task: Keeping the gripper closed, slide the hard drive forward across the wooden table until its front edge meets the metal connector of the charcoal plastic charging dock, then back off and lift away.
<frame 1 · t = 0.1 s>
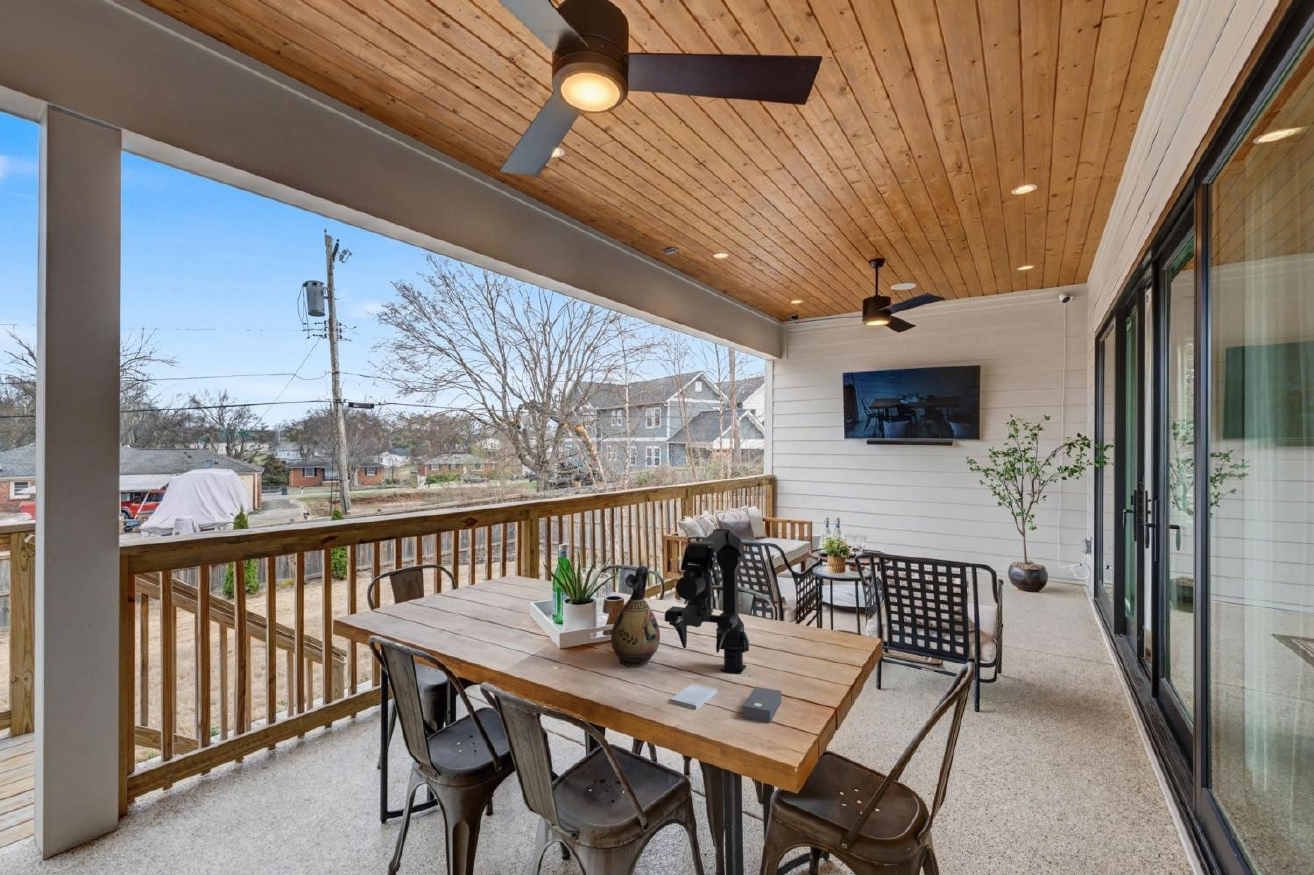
hand: (701, 650, 155), 15 cm above the table, tool pointing down, fingers open, 9 cm apart
charging dock: (762, 709, 153), on the table
ceramic jug: (636, 662, 187), on the table
hard drive: (693, 700, 160), on the table
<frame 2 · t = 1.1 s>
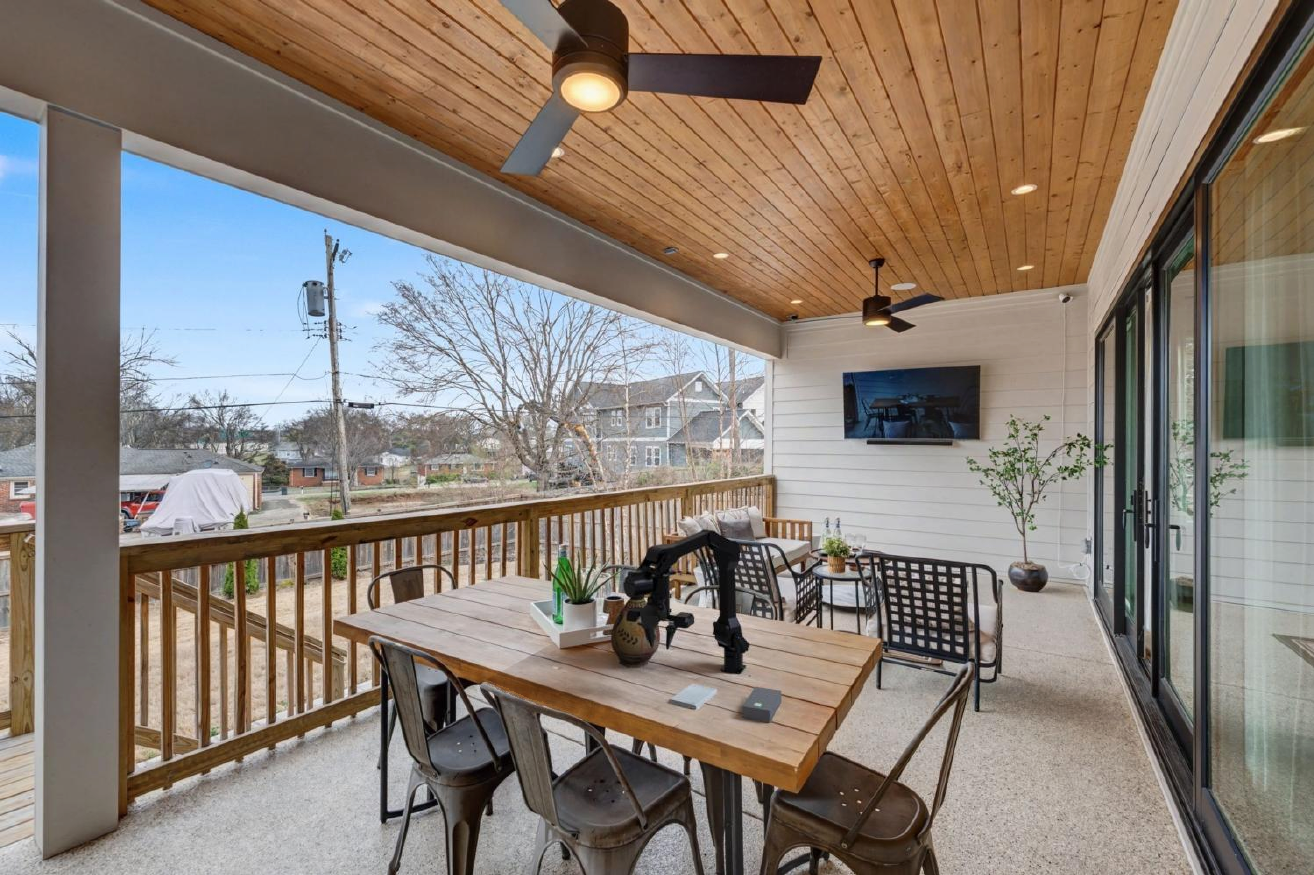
hand: (659, 648, 165), 12 cm above the table, tool pointing down, fingers open, 4 cm apart
nothing on the table moved.
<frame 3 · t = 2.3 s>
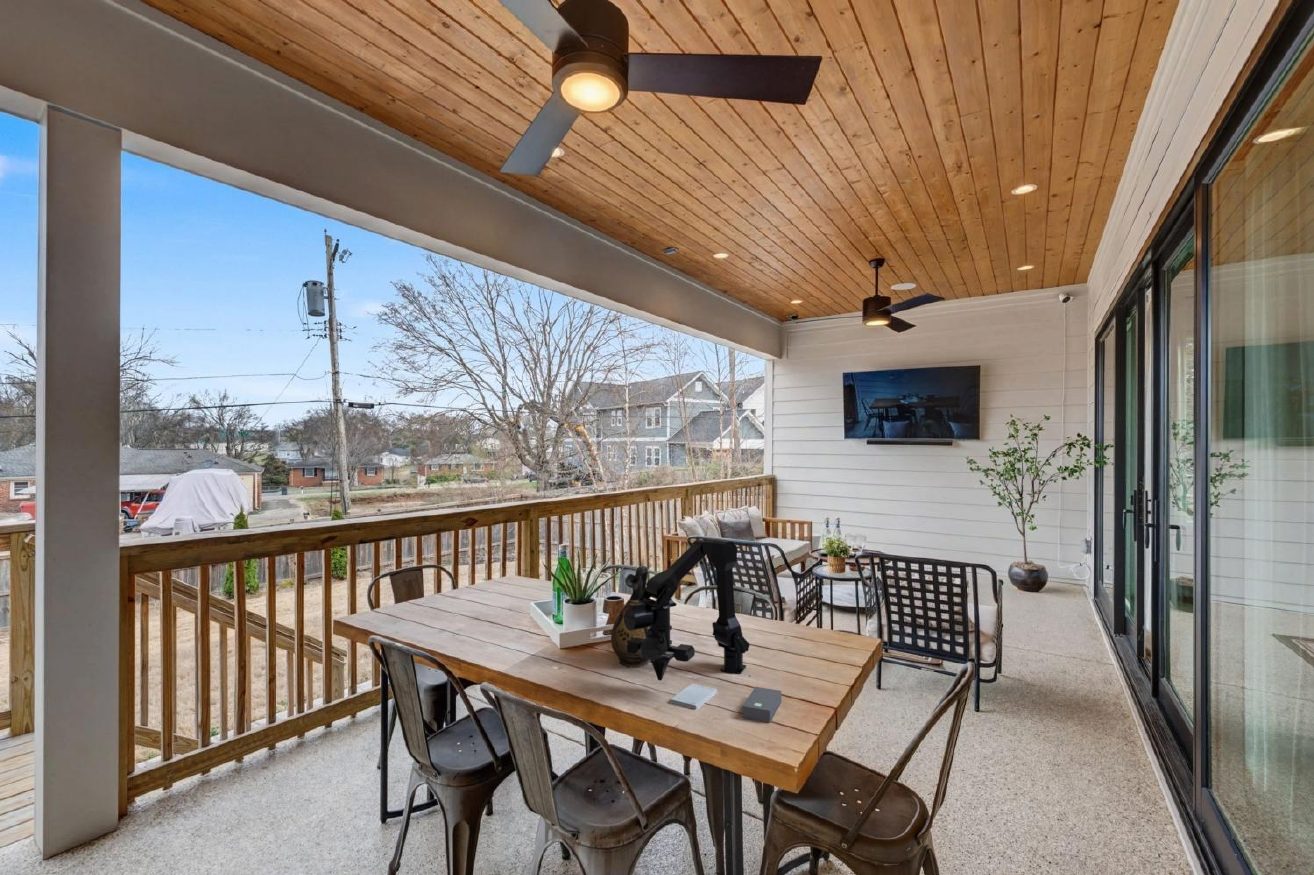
hand: (660, 679, 165), 3 cm above the table, tool pointing down, fingers closed
nothing on the table moved.
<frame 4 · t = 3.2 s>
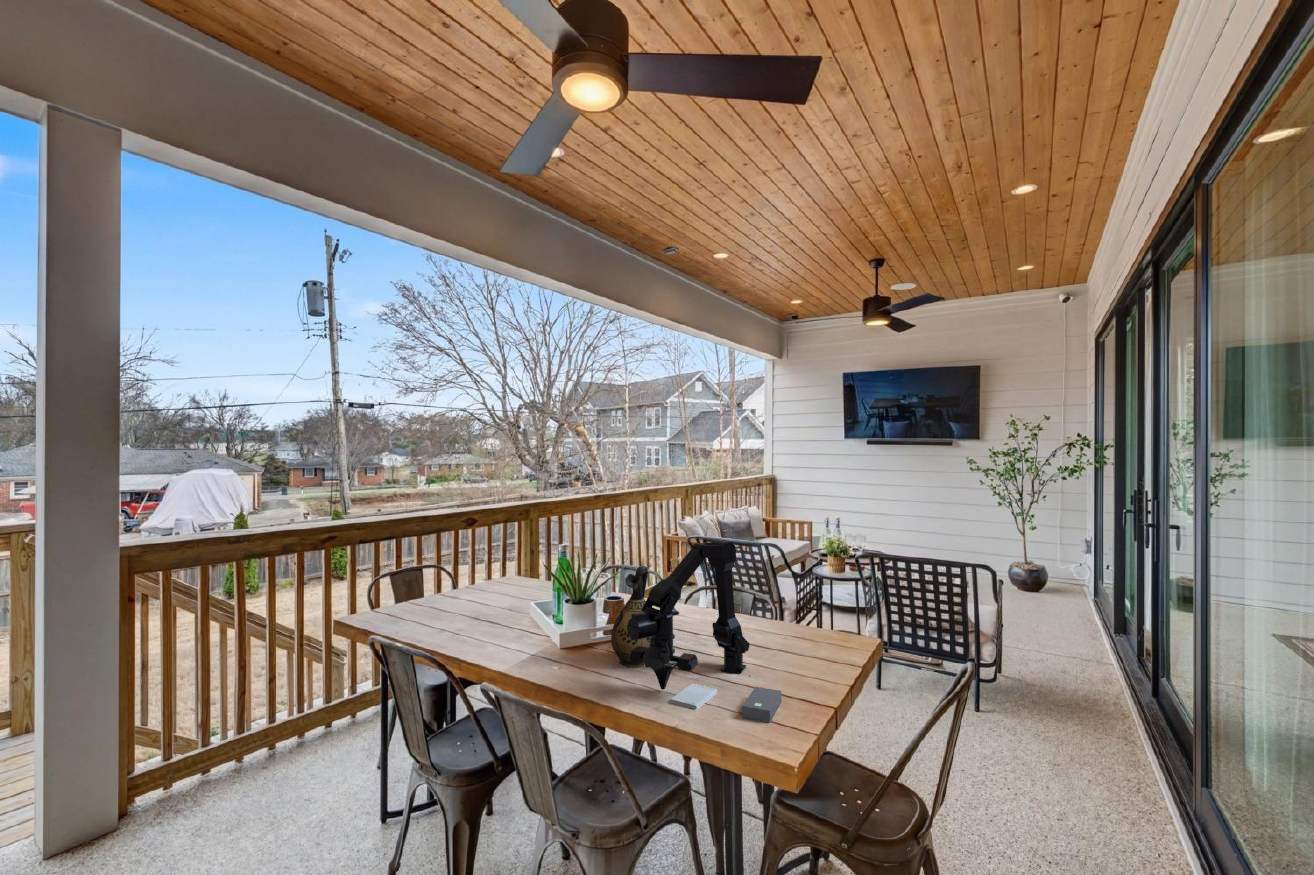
hand: (663, 689, 164), 1 cm above the table, tool pointing down, fingers closed
nothing on the table moved.
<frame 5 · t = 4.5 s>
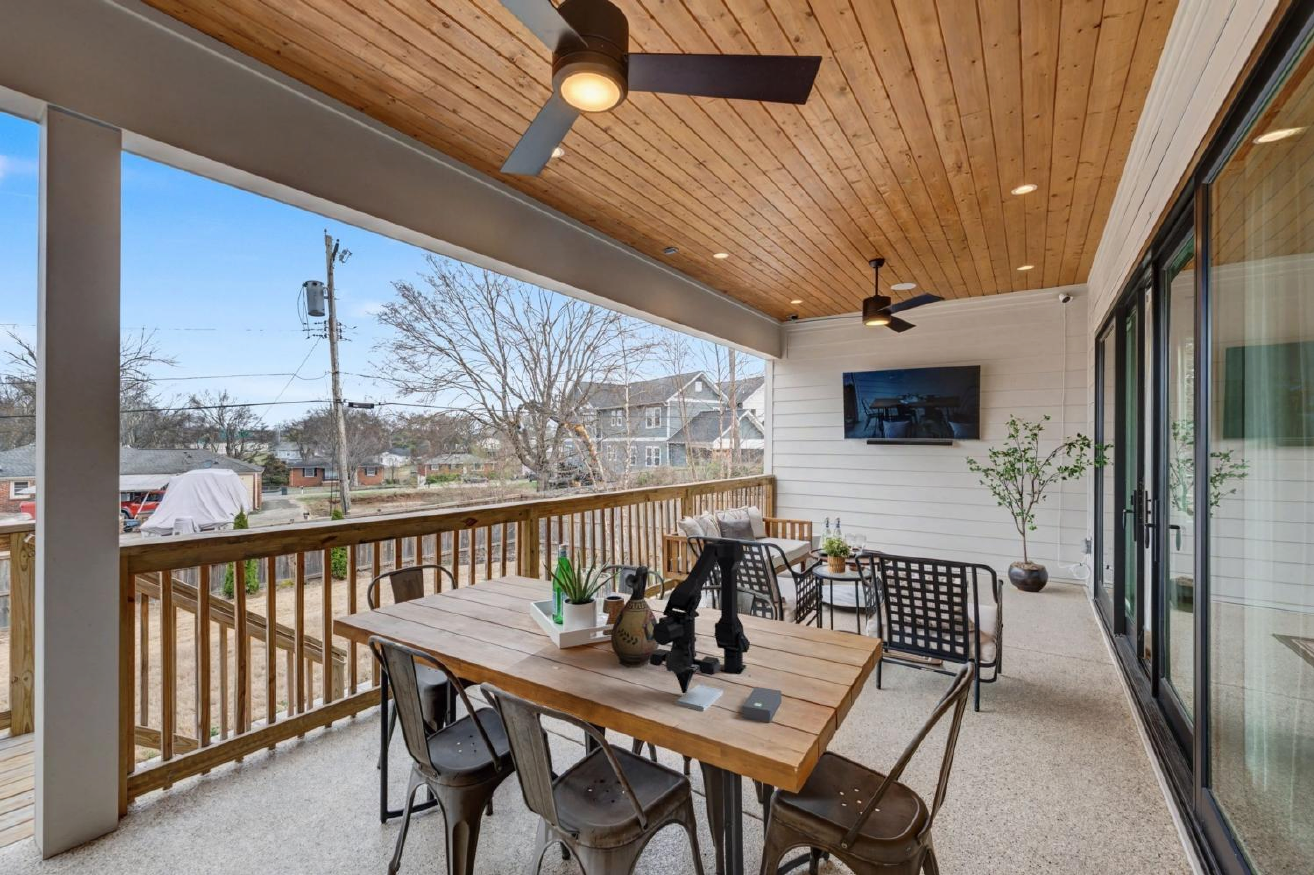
hand: (684, 692, 162), 1 cm above the table, tool pointing down, fingers closed
hard drive: (699, 701, 159), on the table, touching gripper
everything else where it was.
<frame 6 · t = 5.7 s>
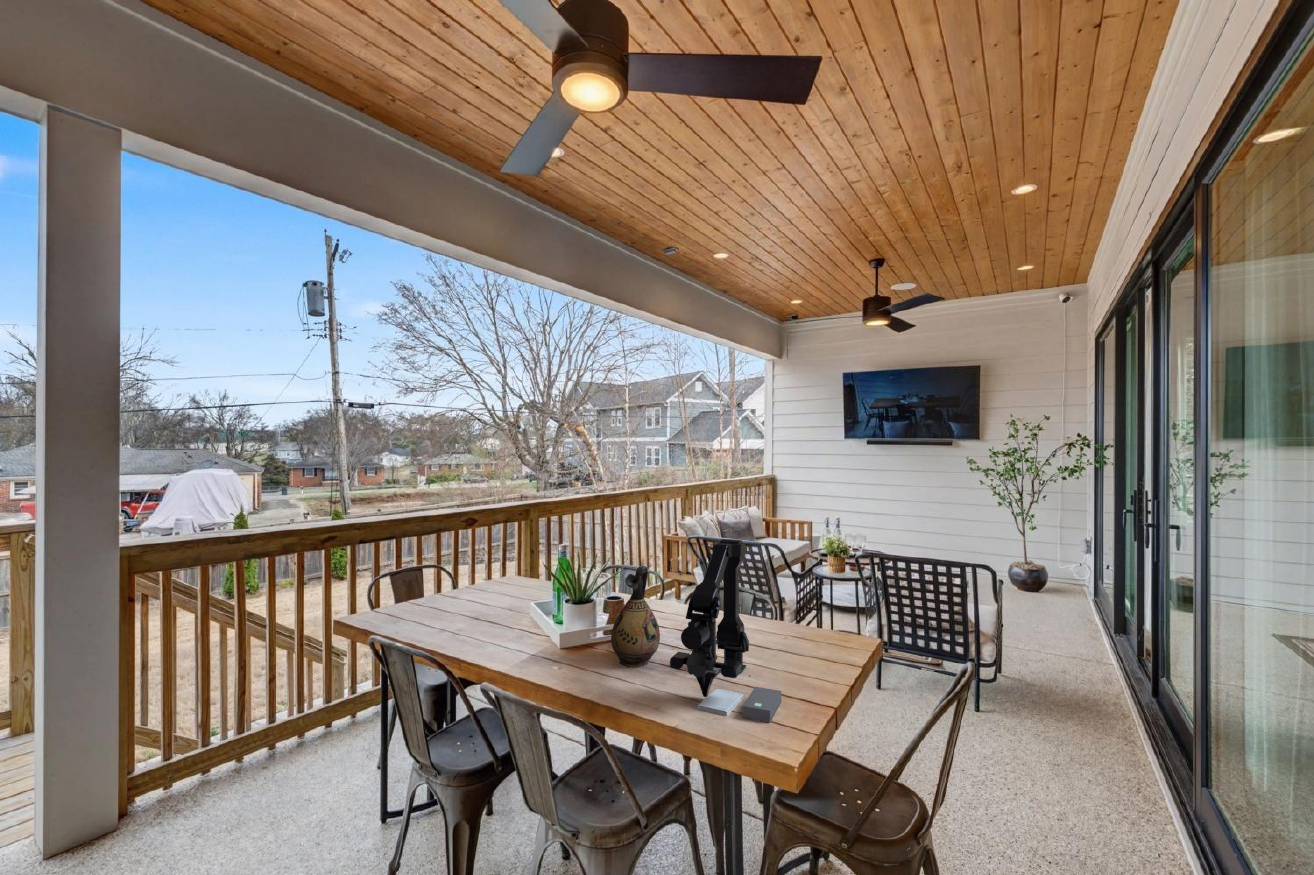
hand: (705, 696, 159), 1 cm above the table, tool pointing down, fingers closed
hard drive: (720, 705, 157), on the table
everything else where it was.
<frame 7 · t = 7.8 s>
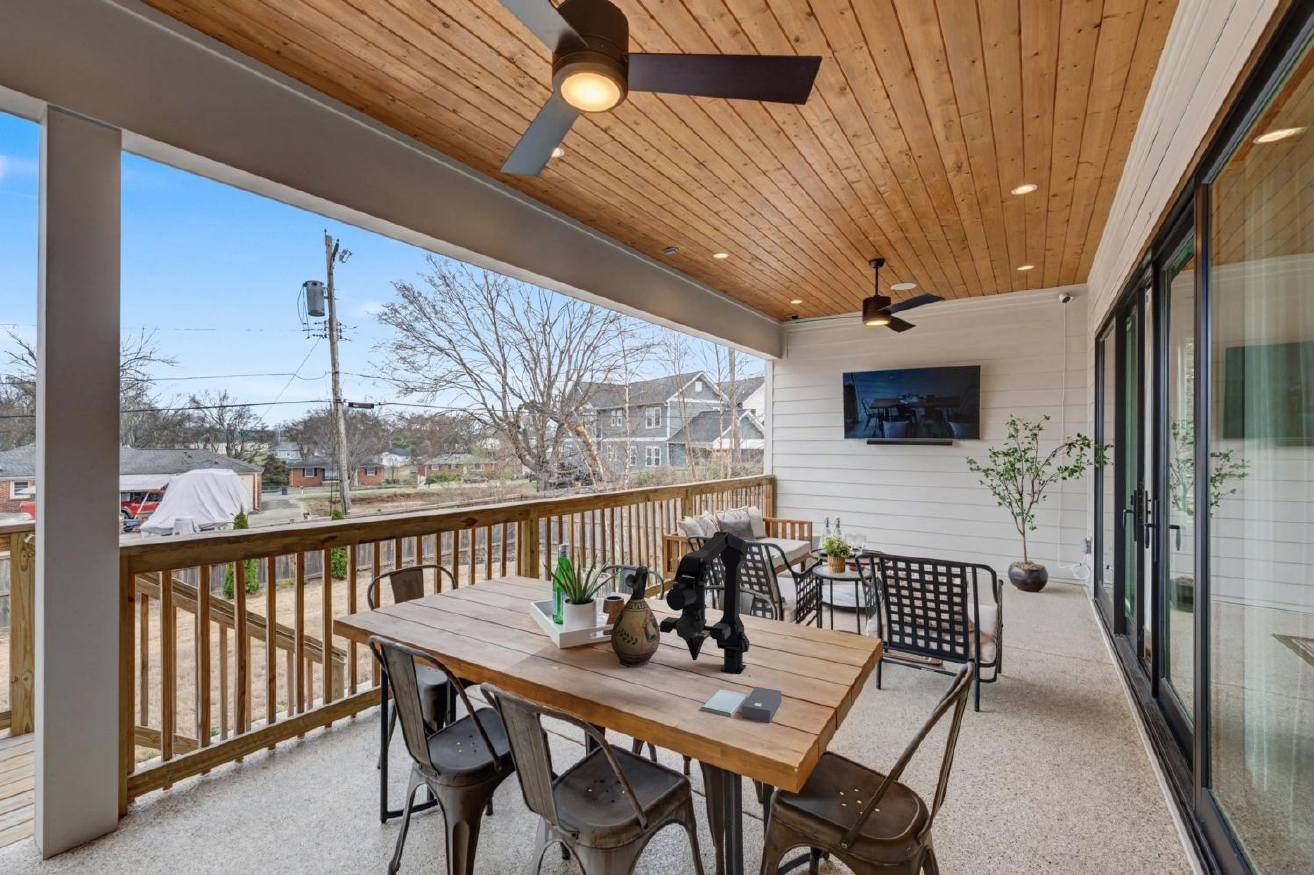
hand: (694, 659, 160), 10 cm above the table, tool pointing down, fingers closed
hard drive: (724, 707, 156), on the table
everything else where it was.
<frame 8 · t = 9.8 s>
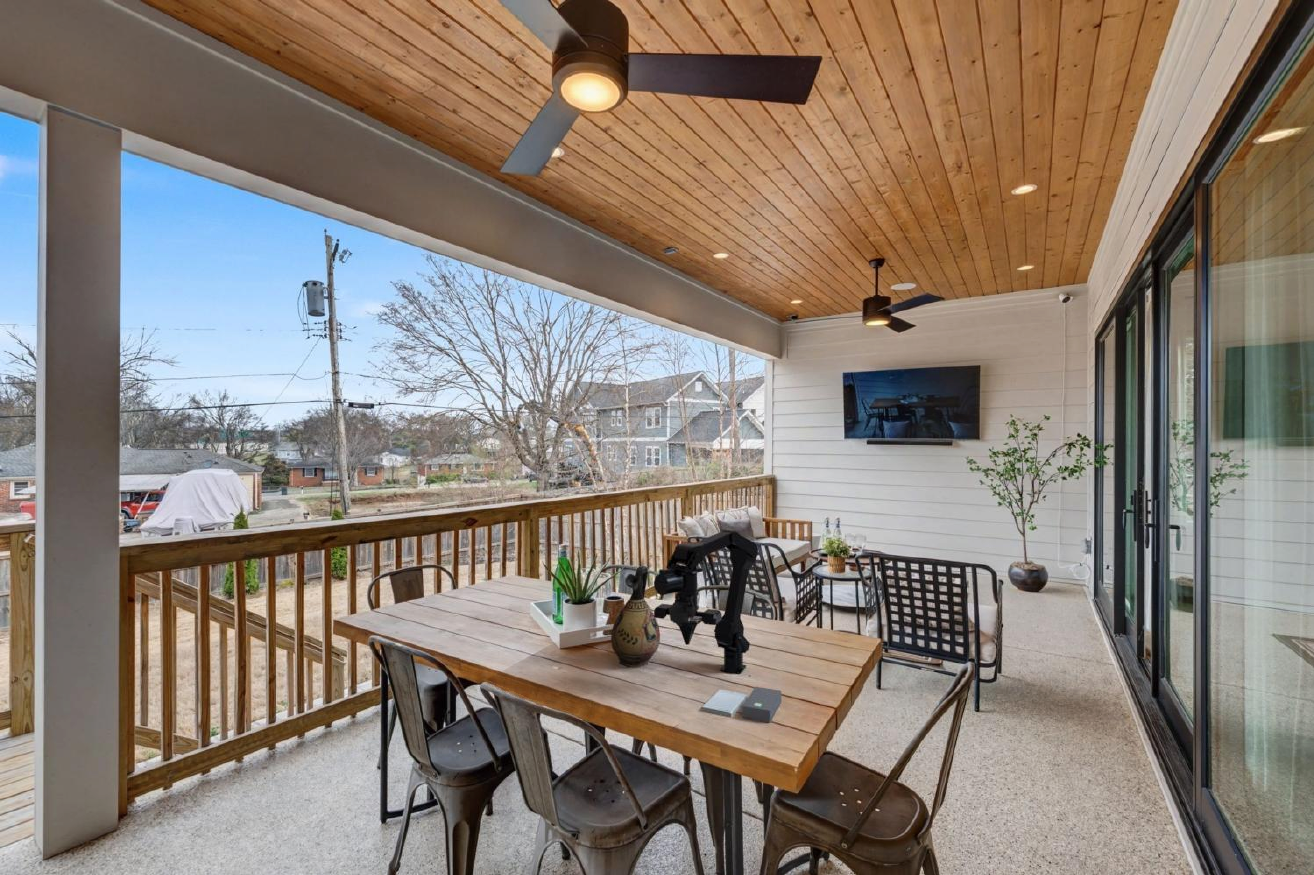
hand: (687, 644, 168), 12 cm above the table, tool pointing down, fingers closed
nothing on the table moved.
at the end: hard drive 1.2 cm from the target spot, on the table; hard drive moved 9.1 cm from its start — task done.
